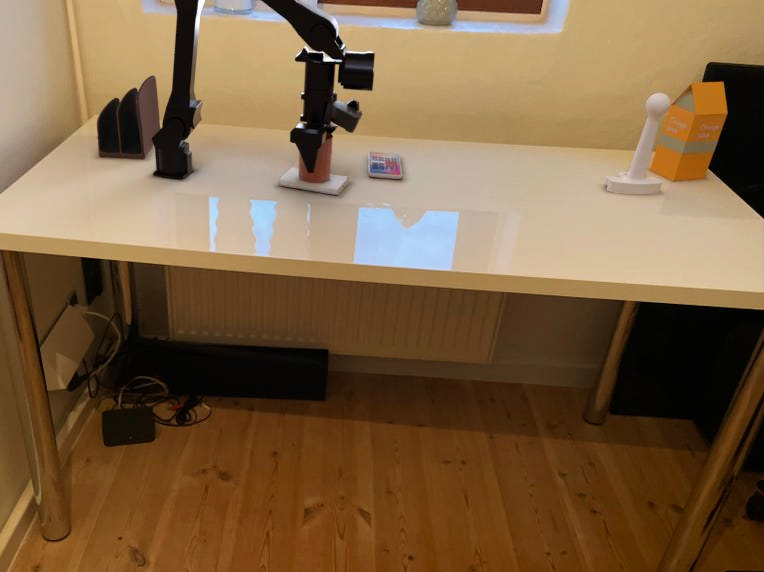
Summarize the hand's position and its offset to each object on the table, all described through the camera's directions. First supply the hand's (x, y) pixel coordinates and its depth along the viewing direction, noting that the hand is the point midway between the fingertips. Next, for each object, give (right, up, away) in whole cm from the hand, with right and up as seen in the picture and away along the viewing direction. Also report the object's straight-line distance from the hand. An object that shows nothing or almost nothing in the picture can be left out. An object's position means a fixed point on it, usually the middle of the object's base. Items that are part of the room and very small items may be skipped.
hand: (314, 167), depth 148 cm
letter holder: (-41, +10, +18) cm, 46 cm away
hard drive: (0, -3, +2) cm, 4 cm away
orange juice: (+82, +3, +19) cm, 85 cm away
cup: (0, -2, +1) cm, 2 cm away
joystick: (+67, -2, +9) cm, 68 cm away
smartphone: (+15, +3, +13) cm, 20 cm away
